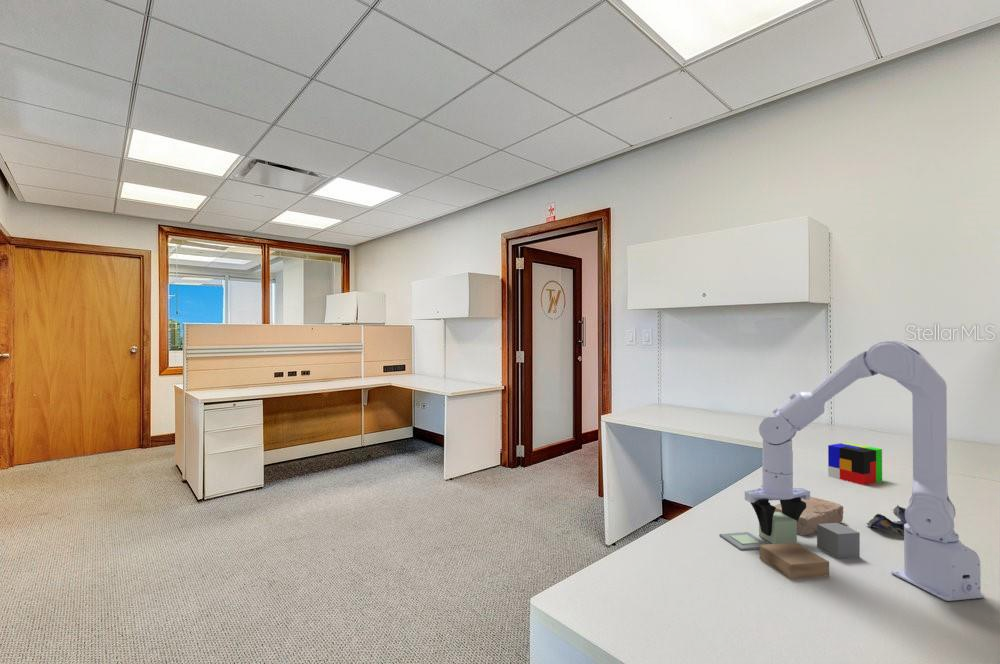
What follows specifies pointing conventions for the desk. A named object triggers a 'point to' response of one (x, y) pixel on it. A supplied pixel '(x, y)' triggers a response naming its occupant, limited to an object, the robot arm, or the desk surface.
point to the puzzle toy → (855, 463)
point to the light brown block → (794, 560)
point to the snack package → (889, 525)
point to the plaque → (743, 540)
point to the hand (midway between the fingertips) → (777, 533)
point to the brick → (816, 514)
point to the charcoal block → (838, 540)
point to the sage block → (781, 529)
